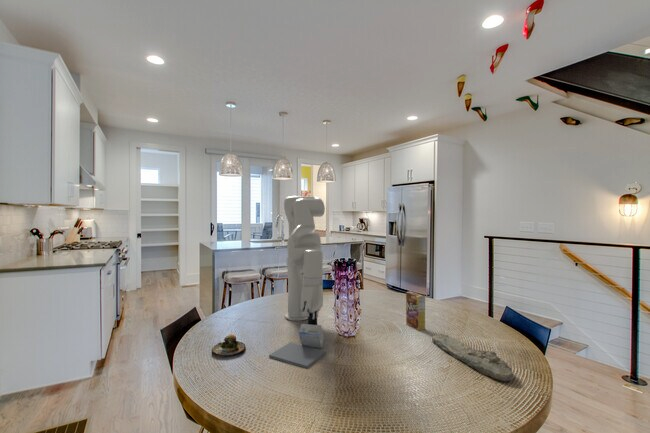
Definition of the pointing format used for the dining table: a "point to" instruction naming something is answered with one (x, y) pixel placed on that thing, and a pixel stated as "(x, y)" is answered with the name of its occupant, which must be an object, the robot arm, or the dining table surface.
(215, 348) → the burger
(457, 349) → the long grey stone
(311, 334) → the medicine box
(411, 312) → the candy box
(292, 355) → the mat
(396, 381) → the dining table surface
